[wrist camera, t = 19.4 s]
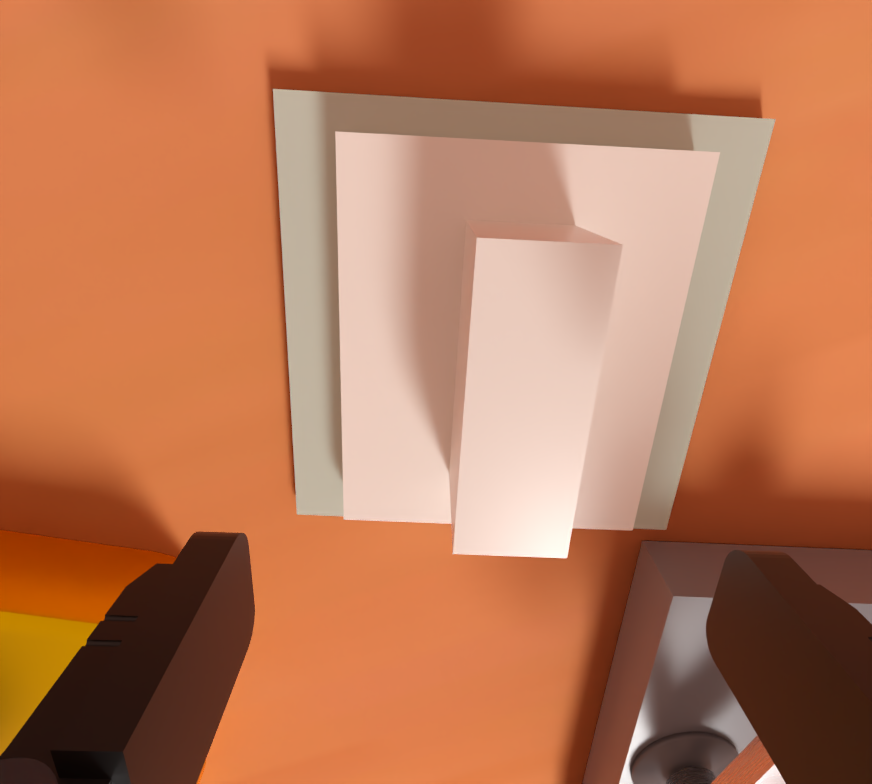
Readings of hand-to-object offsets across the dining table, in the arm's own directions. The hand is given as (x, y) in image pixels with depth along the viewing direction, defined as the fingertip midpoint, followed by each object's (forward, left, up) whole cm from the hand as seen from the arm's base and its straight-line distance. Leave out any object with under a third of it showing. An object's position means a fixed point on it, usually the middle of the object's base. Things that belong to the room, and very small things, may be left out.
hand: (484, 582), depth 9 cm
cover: (+1, -1, -10) cm, 10 cm away
